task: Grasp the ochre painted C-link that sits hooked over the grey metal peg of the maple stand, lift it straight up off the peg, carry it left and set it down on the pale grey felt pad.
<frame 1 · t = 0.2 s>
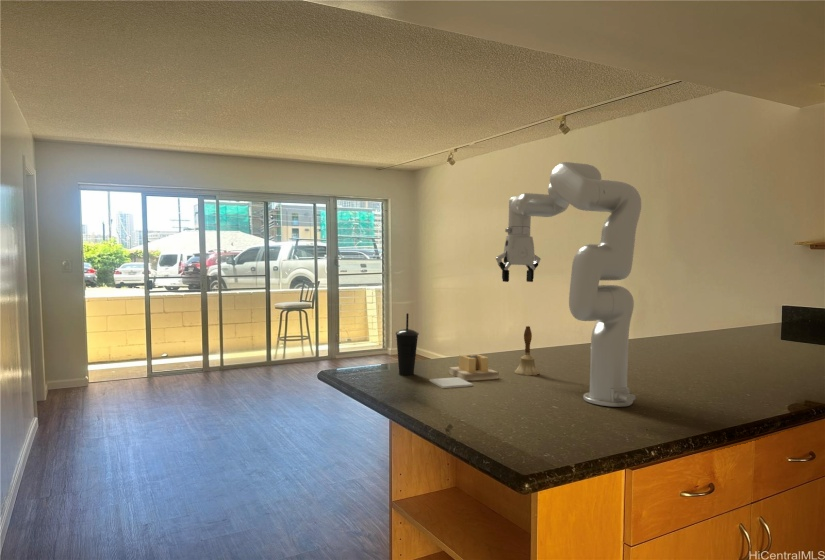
hand: (517, 281, 187), 31 cm above the worktop, fingers open, 9 cm apart
stand: (473, 375, 177), on the worktop
hand bell: (526, 373, 183), on the worktop
c link: (473, 369, 177), point 2 cm above the worktop, touching stand
drinking cup: (406, 374, 178), on the worktop
pad: (450, 383, 165), on the worktop
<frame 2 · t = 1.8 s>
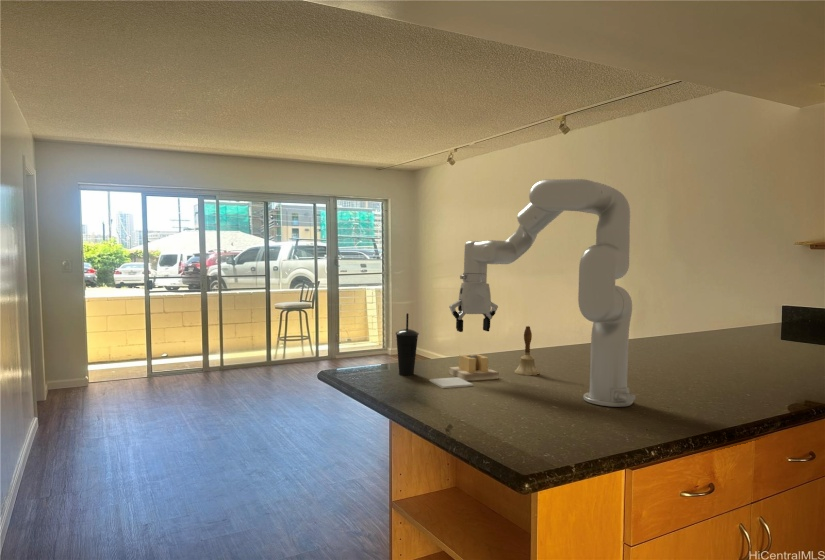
hand: (473, 331, 177), 15 cm above the worktop, fingers open, 9 cm apart
nothing on the worktop moved.
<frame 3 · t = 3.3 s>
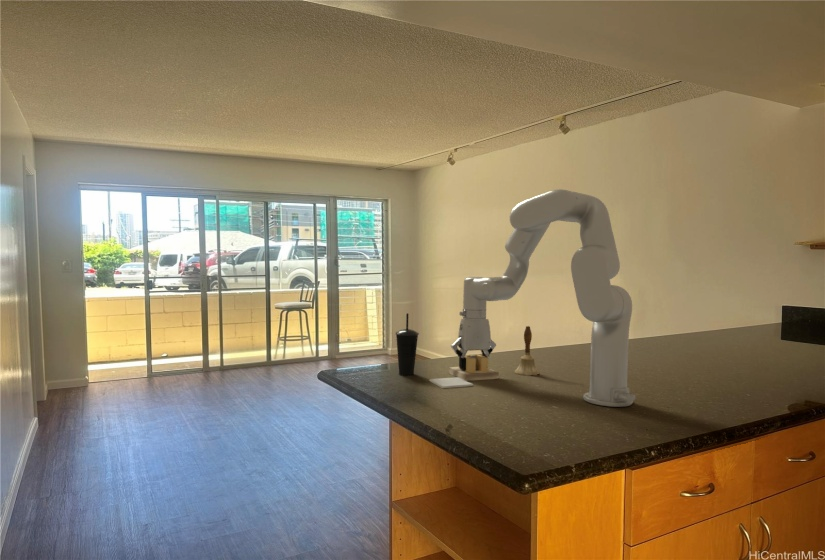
hand: (473, 368, 177), 2 cm above the worktop, fingers closed on c link, 7 cm apart
c link: (473, 369, 177), point 2 cm above the worktop, touching gripper, stand
everything else where it was.
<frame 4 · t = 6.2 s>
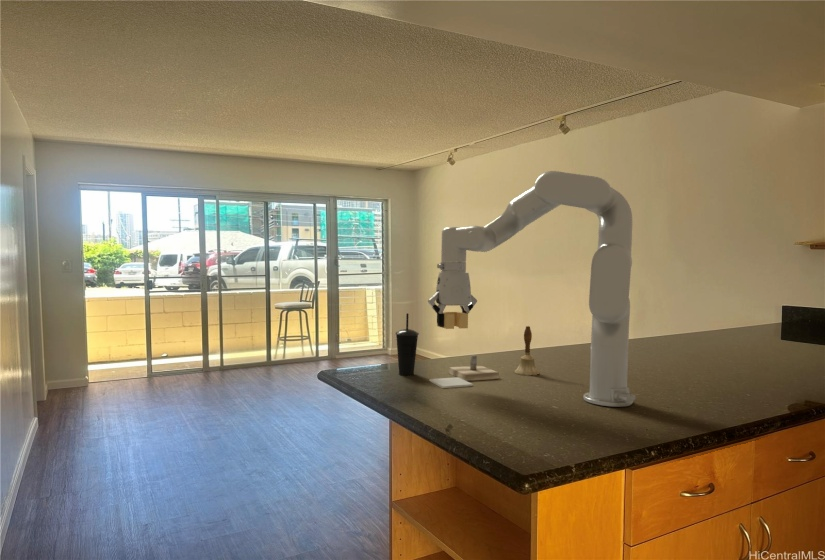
hand: (452, 325, 165), 18 cm above the worktop, fingers closed on c link, 7 cm apart
c link: (452, 327, 165), point 17 cm above the worktop, touching gripper
everything else where it was.
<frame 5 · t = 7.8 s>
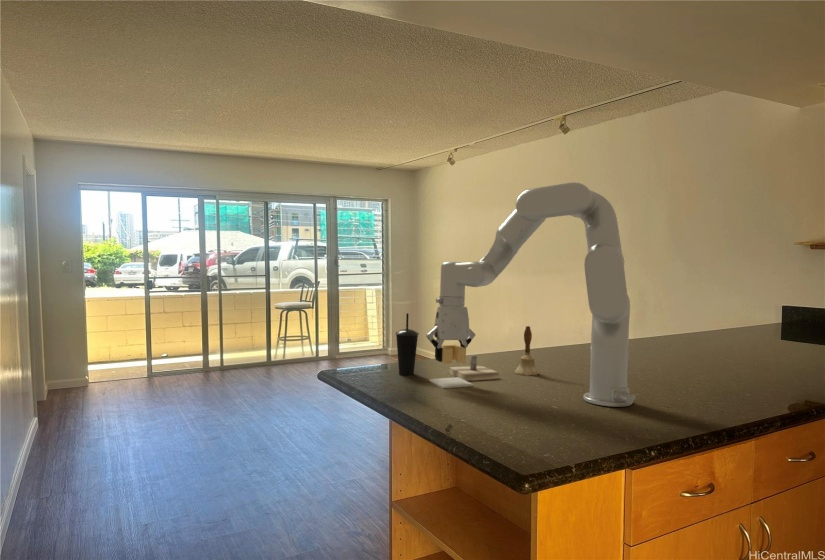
hand: (450, 359, 165), 7 cm above the worktop, fingers closed on c link, 7 cm apart
c link: (450, 361, 165), point 7 cm above the worktop, touching gripper
everything else where it was.
when the fingers open (2 cm above the worktop, at t = 9.2 s): c link drops 1 cm, resting on pad.
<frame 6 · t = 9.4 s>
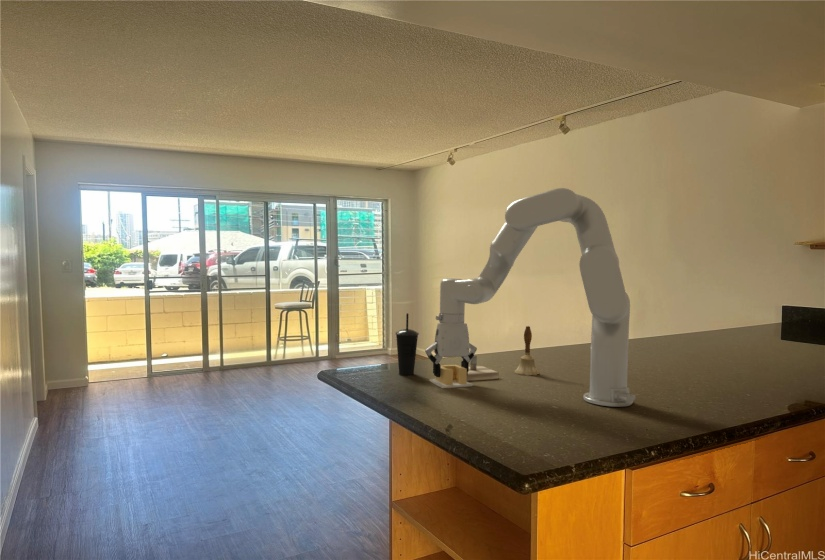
hand: (450, 375, 165), 3 cm above the worktop, fingers open, 8 cm apart
c link: (450, 381, 165), point 1 cm above the worktop, touching pad
everything else where it was.
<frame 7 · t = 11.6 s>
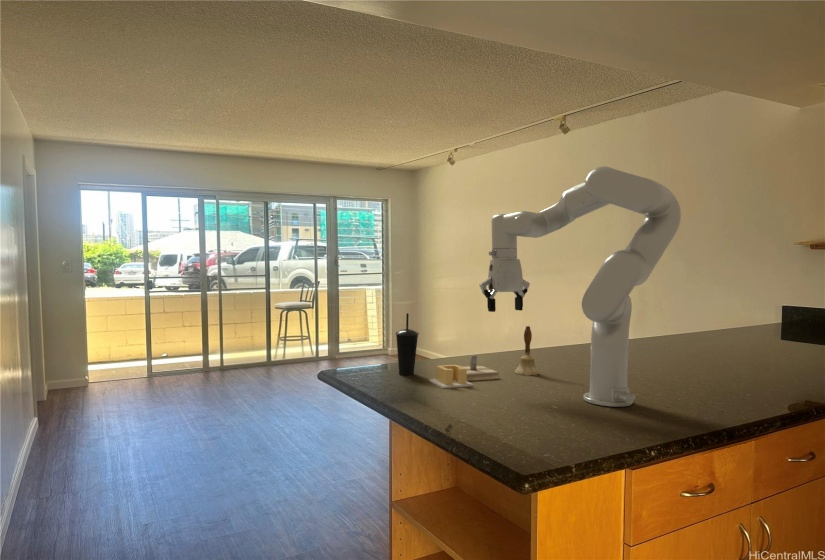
hand: (505, 310, 165), 23 cm above the worktop, fingers open, 9 cm apart
nothing on the worktop moved.
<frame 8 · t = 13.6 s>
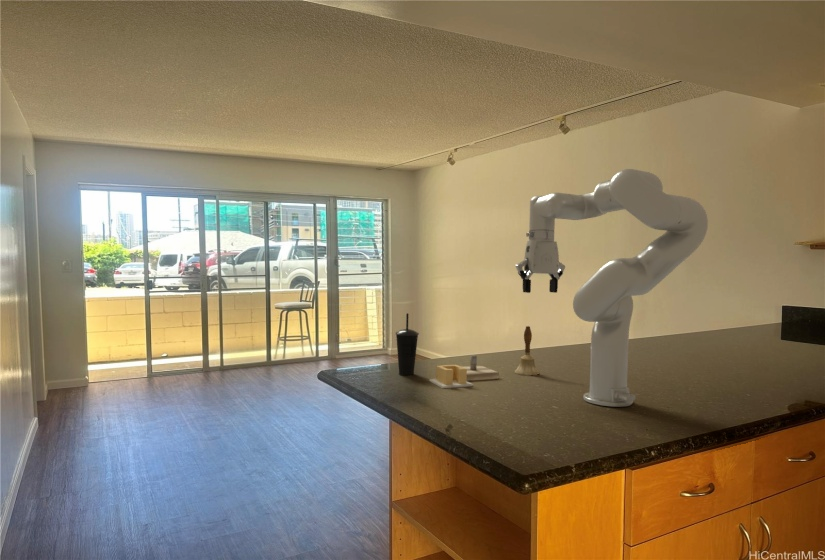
hand: (540, 292, 166), 28 cm above the worktop, fingers open, 9 cm apart
nothing on the worktop moved.
at the end: c link inside the target area on the pad (0.1 cm from its centre), point 0.6 cm above the pad's base; c link touching pad; the gripper is holding nothing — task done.
